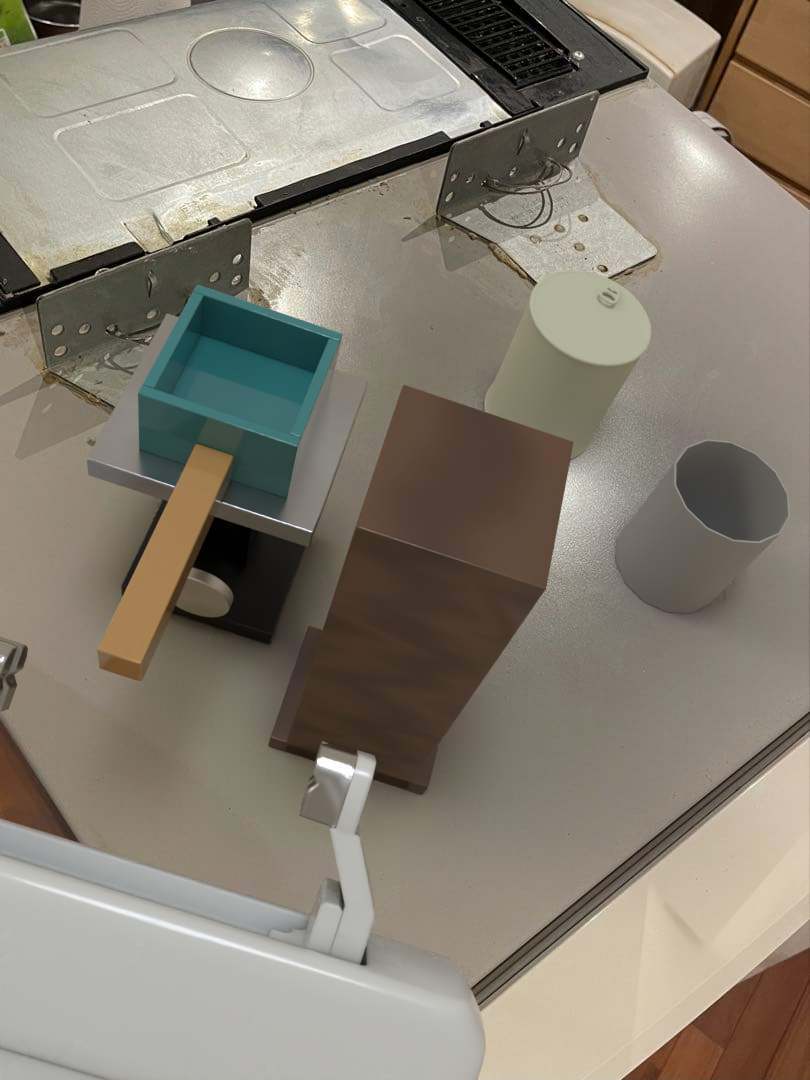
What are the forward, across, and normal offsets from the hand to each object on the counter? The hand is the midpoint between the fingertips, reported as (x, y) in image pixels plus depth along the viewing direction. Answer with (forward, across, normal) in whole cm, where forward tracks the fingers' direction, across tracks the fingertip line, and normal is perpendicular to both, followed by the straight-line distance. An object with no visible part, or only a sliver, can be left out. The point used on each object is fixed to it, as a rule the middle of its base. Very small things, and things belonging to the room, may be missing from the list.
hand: (172, 693), depth 25 cm
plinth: (-3, -7, +38) cm, 39 cm away
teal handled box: (+6, +5, +25) cm, 26 cm away
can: (+22, -14, +52) cm, 59 cm away
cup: (+13, -26, +48) cm, 56 cm away
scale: (+3, +5, +41) cm, 42 cm away
